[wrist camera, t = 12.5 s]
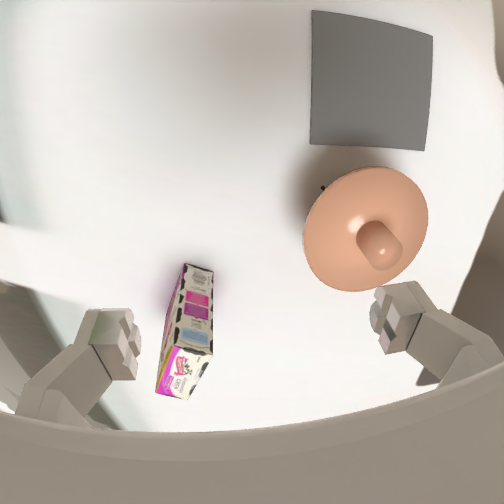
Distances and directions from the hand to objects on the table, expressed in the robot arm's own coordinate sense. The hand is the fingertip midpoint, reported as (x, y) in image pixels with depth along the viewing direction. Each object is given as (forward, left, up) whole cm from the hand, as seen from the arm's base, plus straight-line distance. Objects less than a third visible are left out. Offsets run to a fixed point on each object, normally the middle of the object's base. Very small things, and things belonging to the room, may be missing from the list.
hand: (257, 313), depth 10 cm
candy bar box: (+25, -7, -32) cm, 41 cm away
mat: (-7, +20, -32) cm, 38 cm away
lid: (+10, +16, -22) cm, 29 cm away
